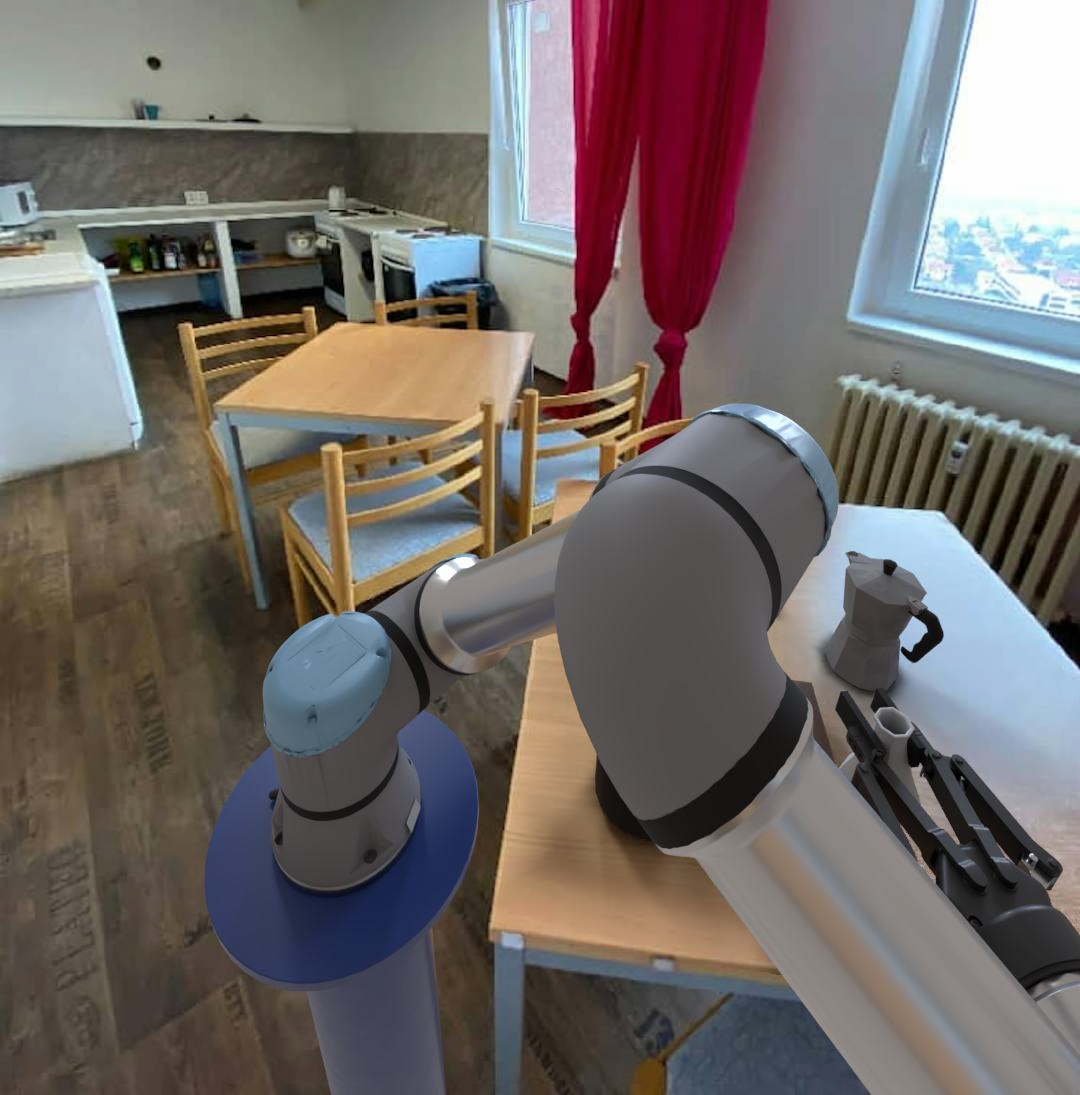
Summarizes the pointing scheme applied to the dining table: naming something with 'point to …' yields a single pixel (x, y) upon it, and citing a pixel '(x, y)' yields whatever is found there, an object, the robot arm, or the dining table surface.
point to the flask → (890, 746)
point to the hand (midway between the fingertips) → (859, 699)
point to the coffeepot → (878, 622)
